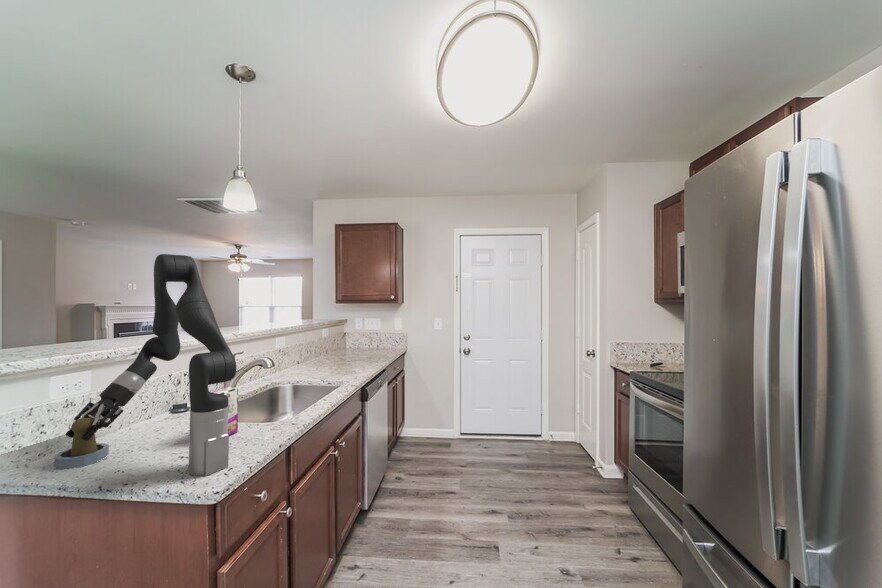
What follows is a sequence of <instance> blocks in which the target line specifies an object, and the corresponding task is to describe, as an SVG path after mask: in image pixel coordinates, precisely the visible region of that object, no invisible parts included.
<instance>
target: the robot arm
mask: <svg viewBox="0 0 882 588" xmlns="http://www.w3.org/2000/svg"><path fill="white" fill-rule="evenodd" d="M168 282H169V283H171V282H173V283H185V284H186V288H185V290H184V292H183V294H182V295H181V296H180V297H179V299H178V300H177V302H176V303H175V302H174V300H173V299H172V297H171V296H170V294H169V292H168V289H167V283H168ZM153 290H154V291H153V292H154V293H153V294H154V315H153V322H152V333H153V334H154V335H155V336H154V337H151V338H149V339H147V341H146V342H145V343H144V345H142V348H141V349H140V351H139V353H138V354H137V356H136V358H135V359H134V361H133V362H132V363H130V365H129V366H128V367H127V368H126V369H125V370H124V371H123V372H122V373H121V374H119V375H118V376H116V378H115V379H114V380H112V382H111V383H110V384H109V385H107V387H106V388H105V389H104V390H103V391H102V392H100V394H99V397H100V400H98V401H97V402H95V403H93V402H91V401H90V402H88V403H87V404H86V405H85V406H84V407H83V408H82V409H81V410H80V411H79V412H78V413H77V415H76V416H75V417H73V420H74V421H76V420H79V419H82V418H94V419H95V421H94V422H93V424H92V425H93V426H90V427H89V428H88V429H87V430H86V431H85V432H84V433H83V434H82V435H81V436H80V438H81V439H83V440H86V441H87V440H89V439H90V438H91V437H92V436H93V435H94V434H95V435H96V433H97V432H98V431H99V430H101V429H103V428H105V429H106V428H108V427H109V426H110V425H111V424H112V423H113V422H115V420H116V419H118V417H120V415H122V414H123V412H124V409H123V408H124V407H125V406H126V405H127V404H128V403H129V402H130V401H131V399H132V398H134V396H136V394H137V393H138V392H139V391H140V390H141V389H142V387H143V386H144V385H145V384H146V382H147V381H148V380H149V379H150V378H151V377H152V376H153V375H154V374H155V372H156V371H157V369H158V367H157V364H155V363H154V362H153V361H152V360H151V359H152V358H156V359H159V360H161V361H165V362H170V361H174V360H175V359H176V358H177V357H178V356H179V354H180V352H181V348H182V347H181V340H180V334H179V331H178V328H179V326H180V327H181V328H182V330H183V331H184V332H185V333H187V334H188V335H189V336H191V337H192V338H194V339H195V340H196V341H198V342H199V343H201V344H202V345H203V346H204V347H206V349H207V350H208V351H209V352H201V353H196V354H194V355H193V356H192V357H190V361H189V365H188V382H189V383H188V384H189V406H190V410H189V441H188V474H189V475H192V476H205V477H207V476H209V475H211V474H214V473H216V472H218V471H222V470H223V469H226V468H228V467H229V447H230V446H229V445H230V444H229V443H230V436H229V434H228V401H229V400H228V396H226V395H224V394H217V393H211V392H212V391H210V390H209V386H210V385H215V384H222V383H226V382H230V381H232V380H233V379H235V377H236V374H237V363H236V359H235V356H234V354H233V351H232V350H231V348H230V347H229V345H228V343H227V342H226V339H225V338H224V336H223V334H222V332H221V330H220V327H219V325H218V322H217V320H216V317H215V314H214V311H213V308H212V307H211V304H210V302H209V299H208V298H207V295H206V292H205V289H204V287H203V284H202V280H201V277H200V274H199V269H198V267H197V263H196V261H195V260H194V258H193V257H192V256H188V255H183V254H181V255H180V254H169V253H161V254H158V255H157V256H156V257H155V260H154V263H153ZM121 407H123V408H121ZM65 436H66V437H68V438H71V439H73V436H74V432H73V431H72V429H71V428H69V430H67V431H66V432H65Z"/></svg>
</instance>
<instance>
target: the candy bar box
mask: <svg viewBox="0 0 882 588" xmlns="http://www.w3.org/2000/svg"><path fill="white" fill-rule="evenodd" d="M210 392H211V393H217V394H224V395H226V396H228V400H229V401H228V434H229V437H230V436H233V435H234V434H236V433H237V432H238V428H239V427H238V426H239V425H238V424H239V423H238V422H239V420H238V418H239V411H238V410H239V388H238V387H230V386H227V387H224V388H220V389H218V390H215V391H210Z"/></svg>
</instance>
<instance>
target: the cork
mask: <svg viewBox="0 0 882 588" xmlns="http://www.w3.org/2000/svg"><path fill="white" fill-rule="evenodd" d="M94 421H95V419H94V418H82V419H79V420H74V421H73V422H72V424H71V426H70V429H72V431H73V432H74V436H73V438H72V443H71V447H70V448H71V453H70V457H77V456H83V455H87V454H90V453H94V452H96V451H98V449H97V444H96V443H97V440H96V436H95V435H96V433H95V434H94V435H93V436H92V437H91V438H90V439H89V440H87V441H86V440H83V439H81V438H80V436H81V435H82V434H83V433H84V432H85V431H86V430H87V429H88V428H89V427H90V426H93V425H92V424H93V422H94Z"/></svg>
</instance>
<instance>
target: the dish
mask: <svg viewBox="0 0 882 588" xmlns="http://www.w3.org/2000/svg"><path fill="white" fill-rule="evenodd" d="M96 444H97V449H98V451H96V452H94V453H90V454H87V455H83V456H77V457H70V453H71V447H69V448H67V449H65V450H62V451H60V452H58V453H56V455H54V458H53V460H54V462H53V467H54V468H55V467H56V469H57V470H70V469H69V468H71V469H75V468H74V467H76V468H81V467H80V466H82V467H85V465H86V466H89V465H92V464H96V463H98V462H100V461H102V460H104V459H106V458H107V457H108V456H109V454H110V453H109V450H110V449H109V444H107V443H105V442H104V443H103V442H100V443H99V442H96ZM107 455H108V456H107ZM106 456H107V457H106ZM105 457H106V458H105ZM103 458H104V459H103ZM101 459H102V460H101ZM99 460H100V461H99ZM97 461H98V462H97ZM95 462H96V463H95ZM88 464H89V465H88Z"/></svg>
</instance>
